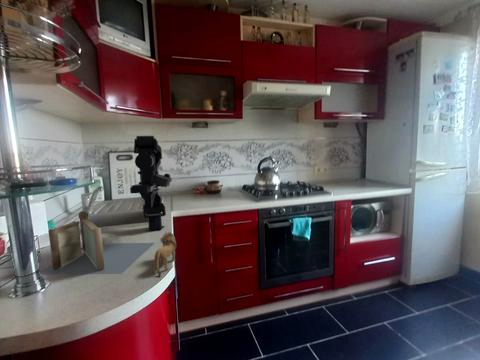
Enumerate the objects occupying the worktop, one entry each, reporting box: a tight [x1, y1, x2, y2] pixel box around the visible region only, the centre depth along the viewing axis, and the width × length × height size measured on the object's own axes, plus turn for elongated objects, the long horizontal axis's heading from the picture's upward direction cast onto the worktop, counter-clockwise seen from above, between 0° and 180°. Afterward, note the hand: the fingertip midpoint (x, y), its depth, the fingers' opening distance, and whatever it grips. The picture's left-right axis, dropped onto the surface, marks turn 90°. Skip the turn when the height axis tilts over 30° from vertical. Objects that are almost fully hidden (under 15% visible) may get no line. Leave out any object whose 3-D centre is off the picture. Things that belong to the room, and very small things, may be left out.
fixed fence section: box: [48, 210, 89, 270], centre depth 81 cm, size 16×3×14 cm, turn 177°
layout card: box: [39, 242, 155, 275], centre depth 83 cm, size 24×26×1 cm
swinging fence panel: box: [82, 218, 105, 270], centre depth 79 cm, size 2×20×12 cm, turn 42°
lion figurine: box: [152, 231, 177, 278], centre depth 74 cm, size 15×5×9 cm, turn 5°
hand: (150, 207), depth 97 cm, fingers closed
